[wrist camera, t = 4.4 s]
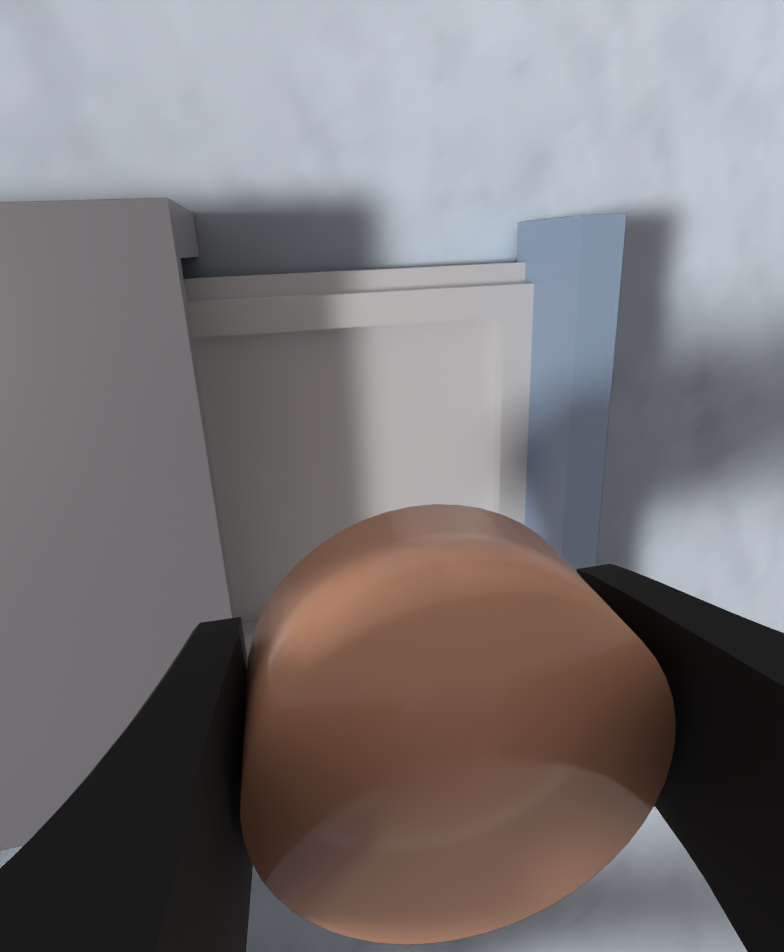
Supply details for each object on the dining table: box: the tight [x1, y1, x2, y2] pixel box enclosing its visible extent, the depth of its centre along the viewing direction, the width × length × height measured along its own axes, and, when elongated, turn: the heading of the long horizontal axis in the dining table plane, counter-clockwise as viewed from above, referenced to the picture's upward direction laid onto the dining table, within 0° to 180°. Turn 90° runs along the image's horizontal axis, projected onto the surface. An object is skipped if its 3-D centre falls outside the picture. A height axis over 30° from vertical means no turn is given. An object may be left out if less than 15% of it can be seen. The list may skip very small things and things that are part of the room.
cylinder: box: [240, 504, 676, 944], centre depth 8 cm, size 5×5×2 cm
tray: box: [184, 214, 626, 660], centre depth 16 cm, size 13×11×4 cm
